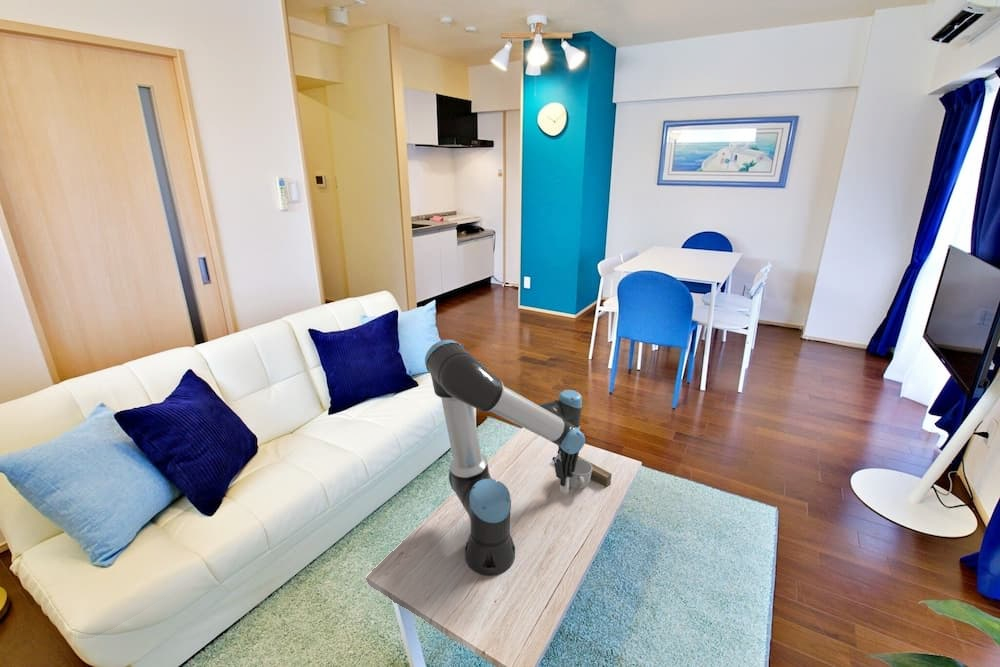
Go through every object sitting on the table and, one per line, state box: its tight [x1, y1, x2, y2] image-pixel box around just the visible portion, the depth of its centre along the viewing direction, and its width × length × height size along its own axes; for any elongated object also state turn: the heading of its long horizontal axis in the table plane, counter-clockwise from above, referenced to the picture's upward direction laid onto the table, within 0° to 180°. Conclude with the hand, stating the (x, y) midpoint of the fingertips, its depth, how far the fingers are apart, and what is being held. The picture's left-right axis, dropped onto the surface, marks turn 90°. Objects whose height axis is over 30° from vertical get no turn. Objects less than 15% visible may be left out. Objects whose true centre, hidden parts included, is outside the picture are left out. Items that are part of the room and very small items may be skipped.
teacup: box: [569, 457, 592, 490], centre depth 170 cm, size 14×11×8 cm
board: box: [578, 455, 612, 489], centre depth 178 cm, size 3×22×4 cm, turn 44°
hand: (564, 491), depth 166 cm, fingers closed
